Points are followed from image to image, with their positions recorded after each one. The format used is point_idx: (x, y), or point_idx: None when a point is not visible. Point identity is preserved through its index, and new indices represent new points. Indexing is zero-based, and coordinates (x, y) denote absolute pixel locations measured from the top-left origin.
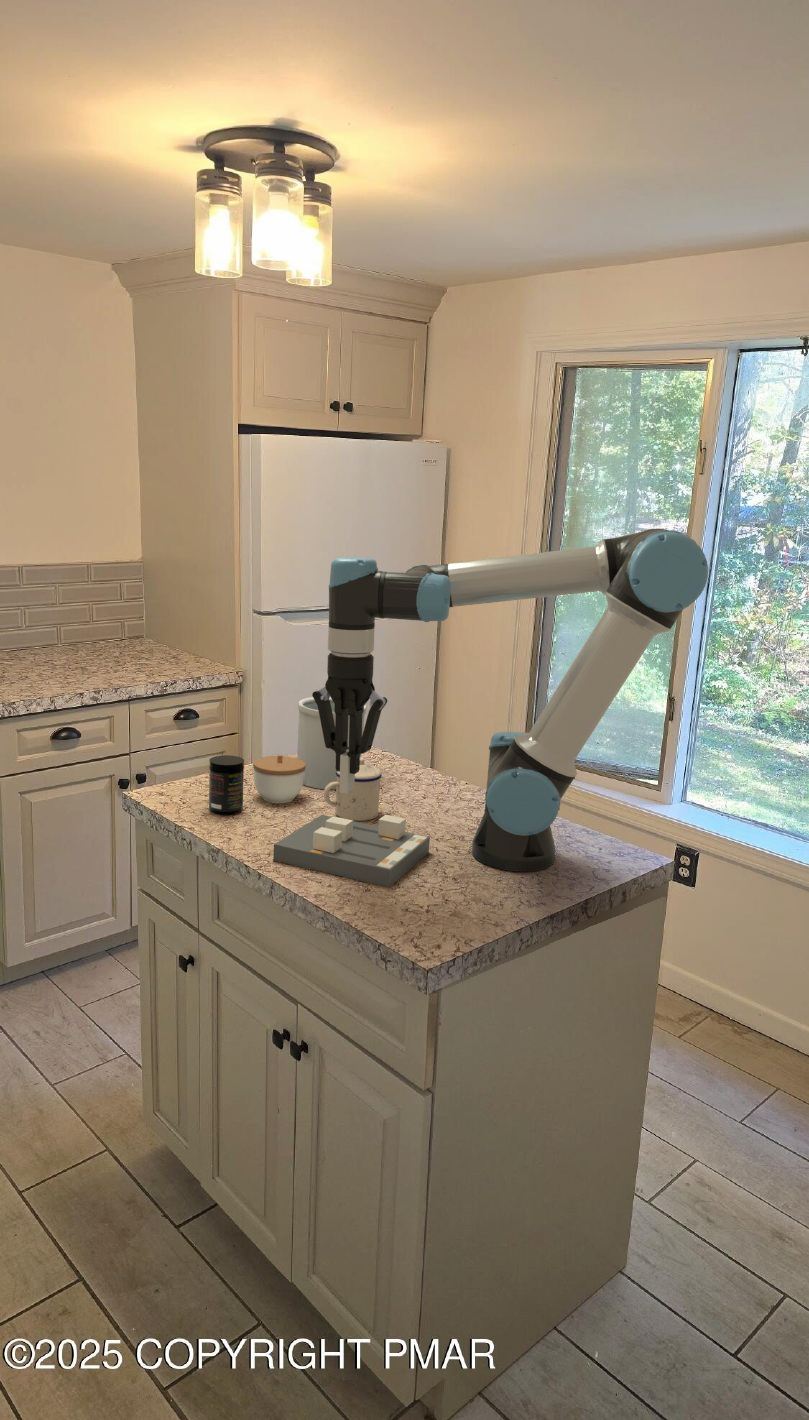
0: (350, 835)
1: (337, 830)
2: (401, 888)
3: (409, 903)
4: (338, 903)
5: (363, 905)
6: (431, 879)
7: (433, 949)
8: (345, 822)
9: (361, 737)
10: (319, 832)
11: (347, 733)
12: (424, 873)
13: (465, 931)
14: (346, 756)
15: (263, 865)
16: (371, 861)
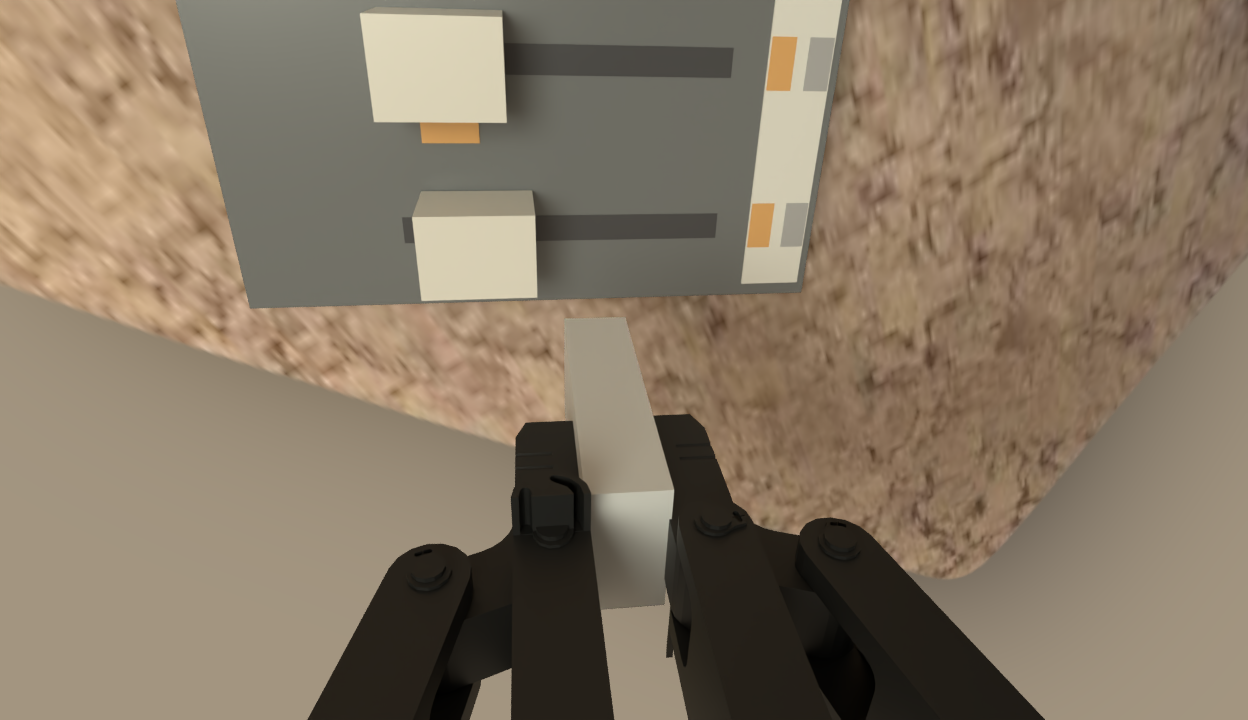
0: (503, 38)
1: (508, 217)
2: (820, 251)
3: (869, 340)
4: None
5: (742, 420)
6: (910, 113)
7: (968, 522)
8: (481, 77)
9: (794, 634)
10: (448, 289)
11: (607, 677)
12: (874, 67)
13: (1042, 411)
14: (644, 601)
15: (276, 334)
16: (708, 255)
